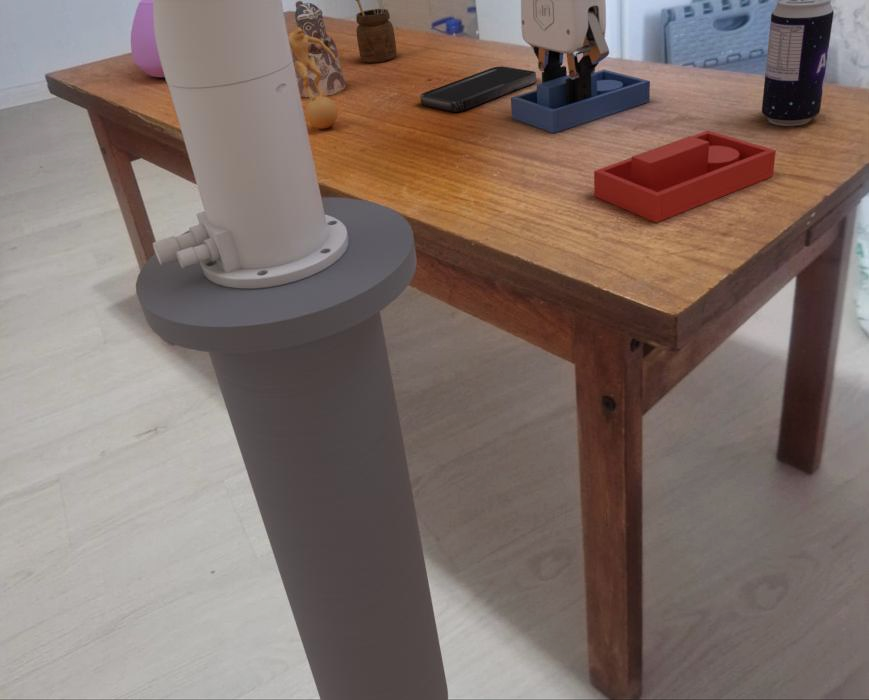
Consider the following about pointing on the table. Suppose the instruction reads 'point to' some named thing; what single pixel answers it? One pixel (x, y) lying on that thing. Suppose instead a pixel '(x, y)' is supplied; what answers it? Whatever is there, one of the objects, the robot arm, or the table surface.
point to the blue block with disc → (555, 90)
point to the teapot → (145, 40)
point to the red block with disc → (679, 163)
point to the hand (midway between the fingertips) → (567, 105)
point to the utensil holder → (375, 35)
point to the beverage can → (796, 60)
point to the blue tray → (582, 104)
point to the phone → (477, 88)
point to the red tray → (689, 194)
